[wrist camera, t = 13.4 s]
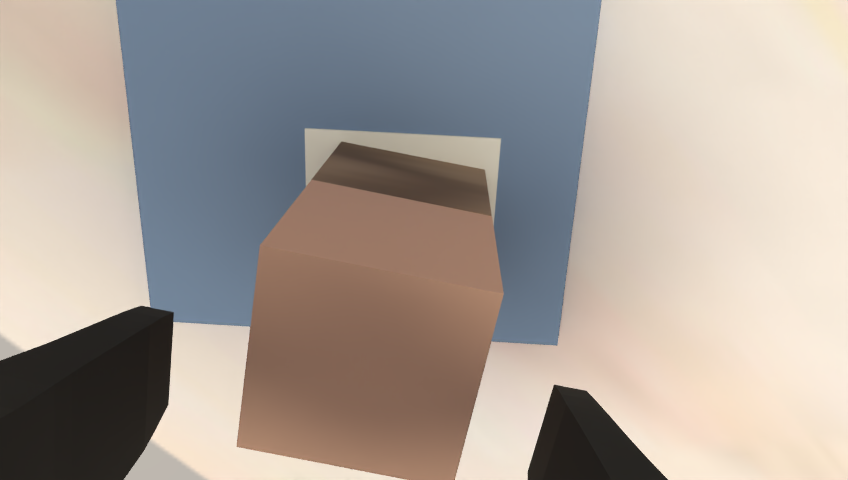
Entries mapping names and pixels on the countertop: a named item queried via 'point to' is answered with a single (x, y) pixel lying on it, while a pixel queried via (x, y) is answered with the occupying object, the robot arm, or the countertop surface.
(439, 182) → the walnut block
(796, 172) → the countertop surface
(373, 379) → the terracotta block
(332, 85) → the blueprint board
